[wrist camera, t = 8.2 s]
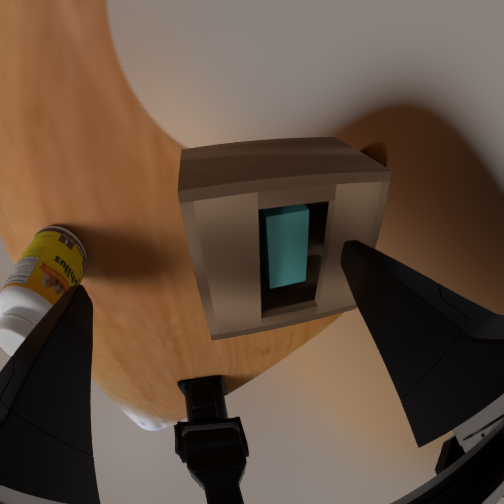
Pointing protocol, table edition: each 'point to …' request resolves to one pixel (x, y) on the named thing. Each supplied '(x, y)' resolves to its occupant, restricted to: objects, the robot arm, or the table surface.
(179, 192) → the wooden box
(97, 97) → the table surface
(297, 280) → the teal block
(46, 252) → the supplement bottle
